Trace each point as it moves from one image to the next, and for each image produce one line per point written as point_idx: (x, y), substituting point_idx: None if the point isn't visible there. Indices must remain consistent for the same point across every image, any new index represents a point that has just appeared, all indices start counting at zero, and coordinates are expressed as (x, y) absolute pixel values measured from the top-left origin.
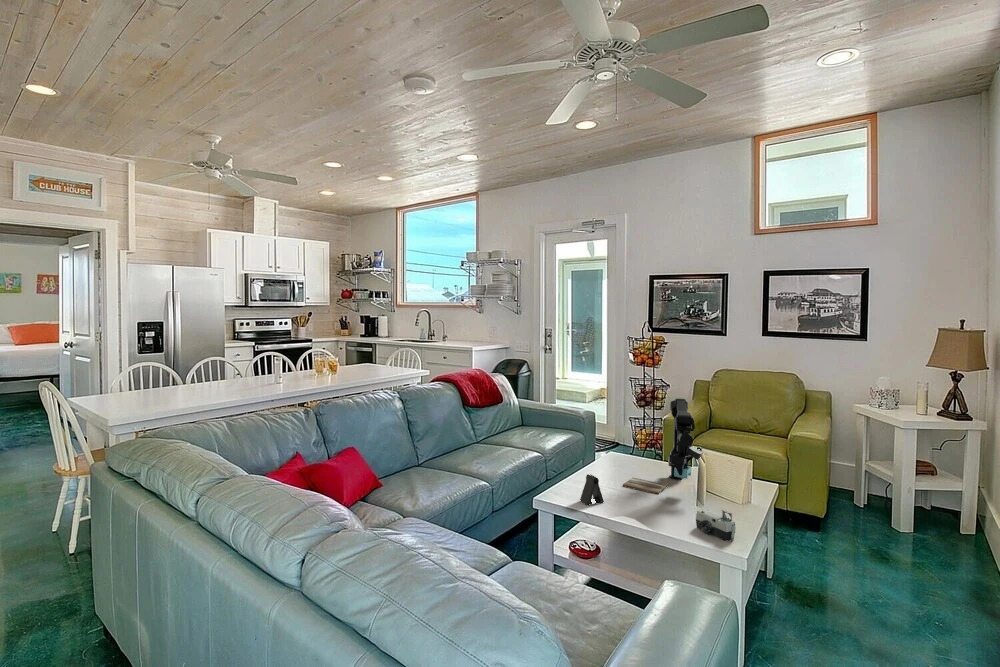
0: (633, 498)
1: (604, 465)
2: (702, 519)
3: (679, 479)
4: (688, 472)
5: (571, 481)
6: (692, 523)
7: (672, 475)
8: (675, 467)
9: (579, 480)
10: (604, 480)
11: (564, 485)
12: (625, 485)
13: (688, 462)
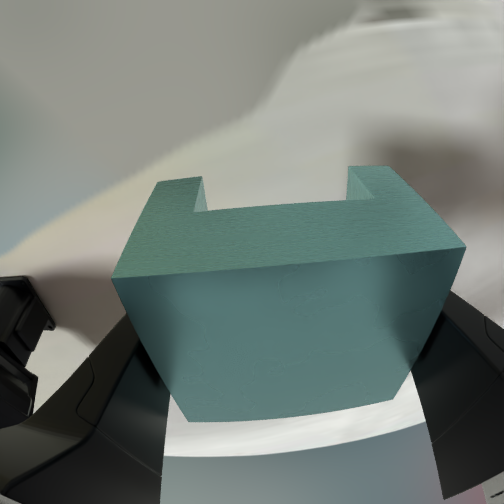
0: None
1: (168, 449)
2: None
3: (29, 284)
4: (355, 211)
5: (361, 437)
6: None
7: (44, 324)
8: (367, 401)
9: (343, 437)
10: (302, 424)
11: (397, 428)
12: None
13: (89, 405)
